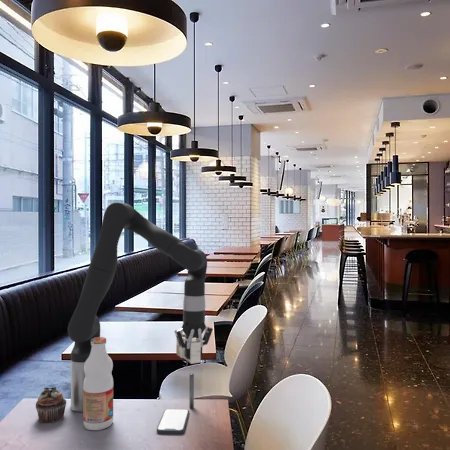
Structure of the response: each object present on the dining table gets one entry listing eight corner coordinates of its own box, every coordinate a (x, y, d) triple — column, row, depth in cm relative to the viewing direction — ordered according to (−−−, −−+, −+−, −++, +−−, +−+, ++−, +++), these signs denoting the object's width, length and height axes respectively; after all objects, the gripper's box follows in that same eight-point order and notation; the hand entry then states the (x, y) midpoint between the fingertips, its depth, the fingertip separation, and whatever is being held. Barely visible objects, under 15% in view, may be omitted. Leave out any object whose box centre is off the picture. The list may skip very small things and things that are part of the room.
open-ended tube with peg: (176, 354, 152) (176, 334, 152) (189, 352, 155) (189, 333, 155) (189, 364, 142) (189, 343, 142) (202, 362, 144) (202, 341, 144)
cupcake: (66, 421, 140) (66, 391, 140) (34, 426, 136) (34, 395, 136) (66, 409, 149) (66, 381, 149) (36, 414, 145) (36, 385, 145)
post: (188, 407, 150) (188, 373, 150) (192, 406, 151) (192, 372, 151) (191, 408, 149) (191, 375, 149) (194, 407, 150) (194, 374, 150)
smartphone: (164, 413, 147) (155, 435, 131) (164, 408, 147) (155, 430, 131) (189, 413, 147) (183, 435, 131) (189, 409, 147) (183, 430, 131)
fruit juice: (79, 422, 139) (80, 337, 139) (108, 415, 144) (108, 333, 144) (87, 434, 131) (87, 344, 131) (117, 426, 136) (117, 339, 136)
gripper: (208, 304, 151) (207, 352, 151) (171, 307, 145) (170, 357, 145) (217, 308, 145) (216, 358, 145) (178, 311, 138) (177, 364, 138)
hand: (193, 357), depth 145 cm, fingers closed on open-ended tube with peg, 3 cm apart
